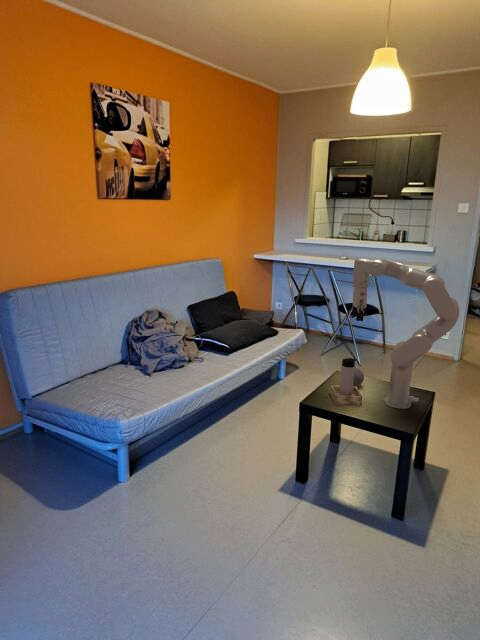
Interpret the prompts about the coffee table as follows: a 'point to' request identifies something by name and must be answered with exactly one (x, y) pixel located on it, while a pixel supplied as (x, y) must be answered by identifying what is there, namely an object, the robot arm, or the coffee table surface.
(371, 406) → the coffee table surface
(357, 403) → the open box
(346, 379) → the travel mug
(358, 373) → the decorative ball
